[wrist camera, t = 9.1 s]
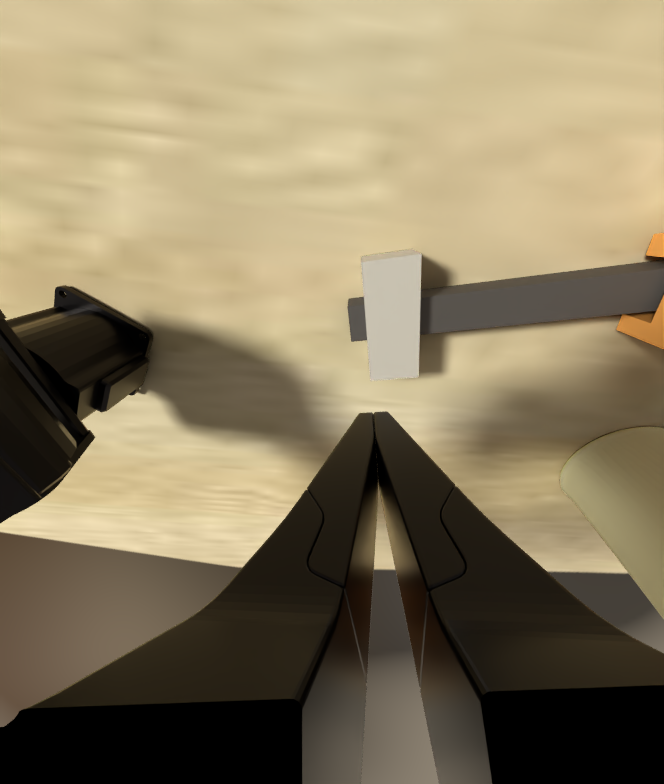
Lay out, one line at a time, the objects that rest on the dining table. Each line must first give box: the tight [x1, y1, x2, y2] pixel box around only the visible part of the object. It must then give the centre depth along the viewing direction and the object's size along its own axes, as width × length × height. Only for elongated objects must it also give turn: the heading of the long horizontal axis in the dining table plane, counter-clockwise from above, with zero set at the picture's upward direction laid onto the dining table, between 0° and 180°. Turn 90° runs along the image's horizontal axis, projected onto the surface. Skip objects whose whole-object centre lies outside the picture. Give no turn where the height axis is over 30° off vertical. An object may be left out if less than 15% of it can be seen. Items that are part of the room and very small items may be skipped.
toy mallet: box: [348, 249, 664, 381], centre depth 15 cm, size 26×7×5 cm, turn 98°
